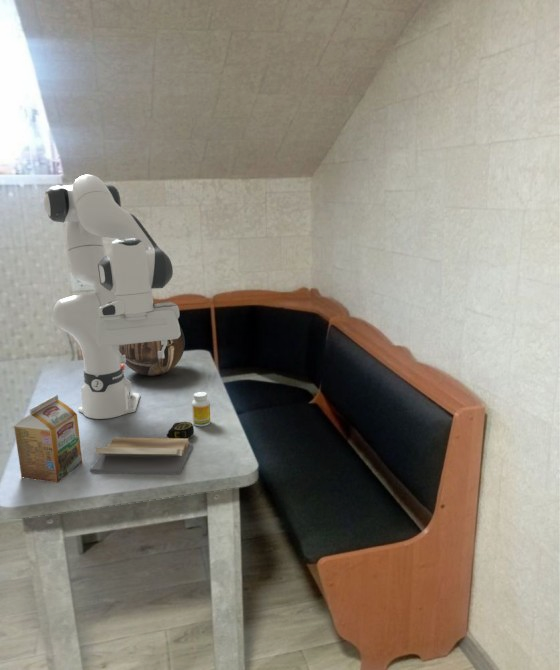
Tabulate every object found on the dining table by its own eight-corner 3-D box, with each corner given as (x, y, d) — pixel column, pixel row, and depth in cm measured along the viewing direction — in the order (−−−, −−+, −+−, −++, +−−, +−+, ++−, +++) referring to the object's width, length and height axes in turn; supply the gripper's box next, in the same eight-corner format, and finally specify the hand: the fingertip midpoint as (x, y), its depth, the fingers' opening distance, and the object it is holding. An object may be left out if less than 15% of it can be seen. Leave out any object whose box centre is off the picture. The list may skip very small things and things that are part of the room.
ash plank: (104, 454, 154) (105, 449, 155) (181, 455, 153) (182, 450, 153) (94, 453, 148) (95, 447, 148) (175, 454, 146) (176, 448, 147)
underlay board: (112, 445, 163) (111, 442, 163) (192, 446, 161) (192, 443, 161) (90, 472, 148) (90, 469, 147) (179, 474, 146) (179, 470, 146)
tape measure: (175, 431, 172) (174, 420, 171) (197, 433, 170) (196, 421, 170) (166, 441, 165) (166, 429, 164) (189, 443, 164) (189, 431, 163)
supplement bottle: (190, 422, 178) (188, 392, 176) (207, 418, 180) (205, 389, 178) (196, 428, 173) (194, 398, 171) (213, 424, 176) (211, 395, 173)
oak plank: (115, 442, 162) (114, 437, 162) (188, 443, 161) (188, 438, 161) (106, 453, 156) (105, 448, 155) (182, 454, 154) (182, 449, 154)
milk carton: (57, 482, 143) (48, 411, 138) (21, 477, 146) (11, 407, 141) (82, 463, 153) (74, 396, 148) (48, 458, 156) (39, 392, 151)
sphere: (189, 381, 215) (185, 315, 209) (119, 387, 210) (113, 320, 203) (184, 361, 239) (180, 302, 232) (121, 367, 233) (116, 306, 227)
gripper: (178, 299, 145) (184, 353, 147) (95, 308, 143) (102, 362, 145) (177, 302, 139) (184, 358, 141) (90, 310, 136) (98, 367, 138)
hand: (142, 360), depth 143 cm, fingers open, 8 cm apart
